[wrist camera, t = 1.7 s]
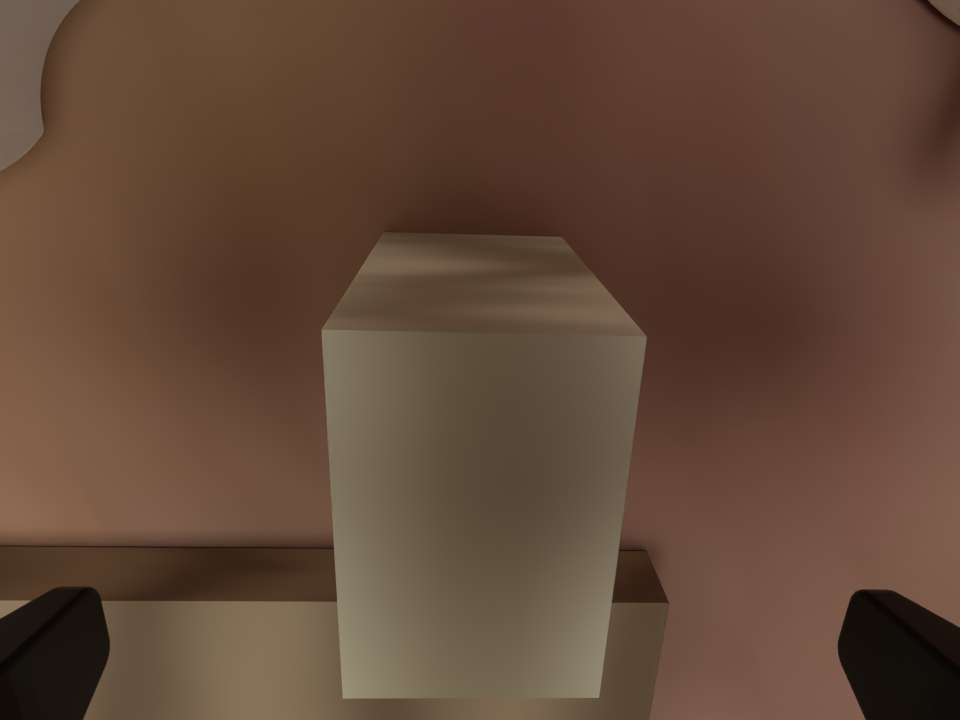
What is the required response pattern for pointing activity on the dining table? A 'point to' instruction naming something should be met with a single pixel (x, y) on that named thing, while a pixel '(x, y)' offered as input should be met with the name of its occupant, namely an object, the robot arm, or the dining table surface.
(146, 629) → the walnut board
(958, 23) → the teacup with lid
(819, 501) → the dining table surface
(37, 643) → the robot arm
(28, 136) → the white muffin tray
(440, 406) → the block
